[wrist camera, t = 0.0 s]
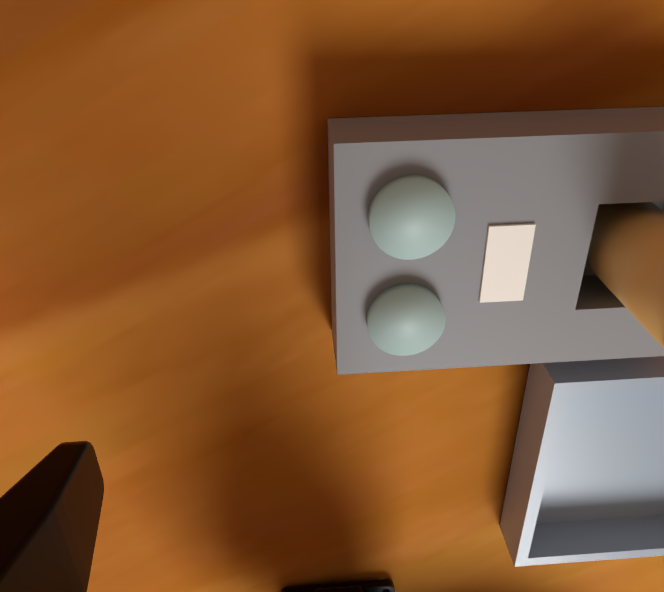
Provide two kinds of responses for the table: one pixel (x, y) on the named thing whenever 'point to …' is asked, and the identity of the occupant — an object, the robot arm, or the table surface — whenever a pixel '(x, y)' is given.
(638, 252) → the cylinder
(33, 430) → the table surface
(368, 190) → the panel
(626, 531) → the parts tray
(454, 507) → the table surface
